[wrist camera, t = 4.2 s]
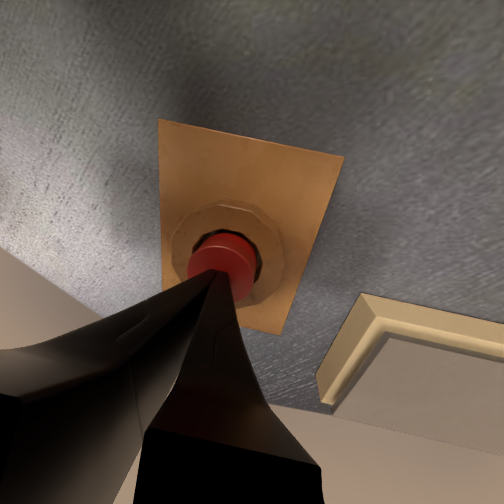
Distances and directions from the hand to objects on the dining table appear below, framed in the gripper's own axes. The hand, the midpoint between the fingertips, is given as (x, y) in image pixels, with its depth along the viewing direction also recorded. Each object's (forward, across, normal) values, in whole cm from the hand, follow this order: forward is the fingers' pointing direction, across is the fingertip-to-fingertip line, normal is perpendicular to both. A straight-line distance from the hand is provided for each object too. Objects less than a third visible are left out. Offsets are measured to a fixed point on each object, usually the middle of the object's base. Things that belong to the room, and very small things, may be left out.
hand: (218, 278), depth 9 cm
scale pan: (+2, -17, +7) cm, 18 cm away
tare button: (+2, 0, 0) cm, 2 cm away
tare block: (+5, 0, 0) cm, 5 cm away
